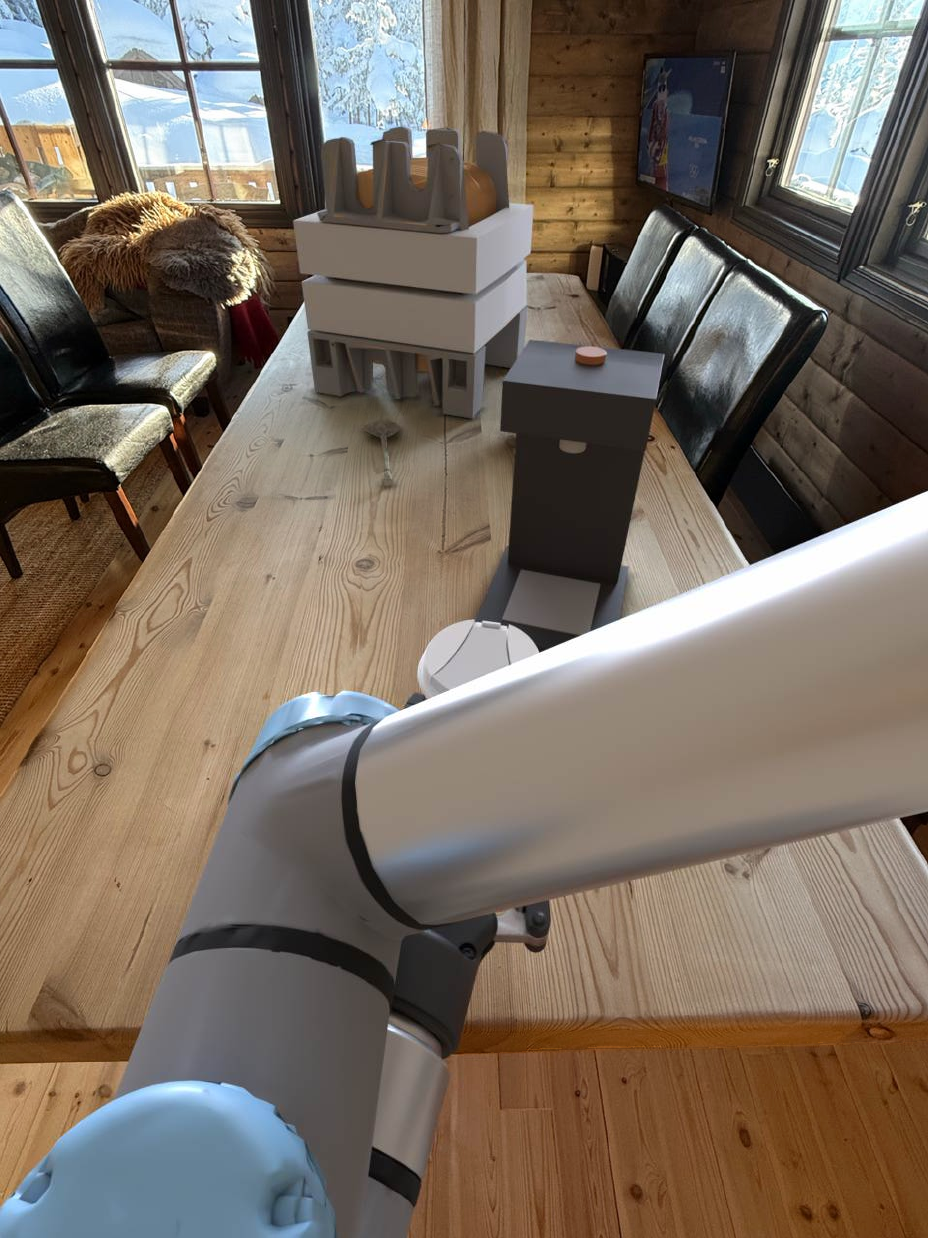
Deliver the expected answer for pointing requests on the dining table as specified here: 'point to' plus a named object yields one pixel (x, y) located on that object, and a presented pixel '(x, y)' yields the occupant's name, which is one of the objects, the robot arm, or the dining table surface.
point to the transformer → (415, 268)
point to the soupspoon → (383, 441)
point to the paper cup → (470, 654)
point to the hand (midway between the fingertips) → (497, 680)
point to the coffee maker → (571, 486)
